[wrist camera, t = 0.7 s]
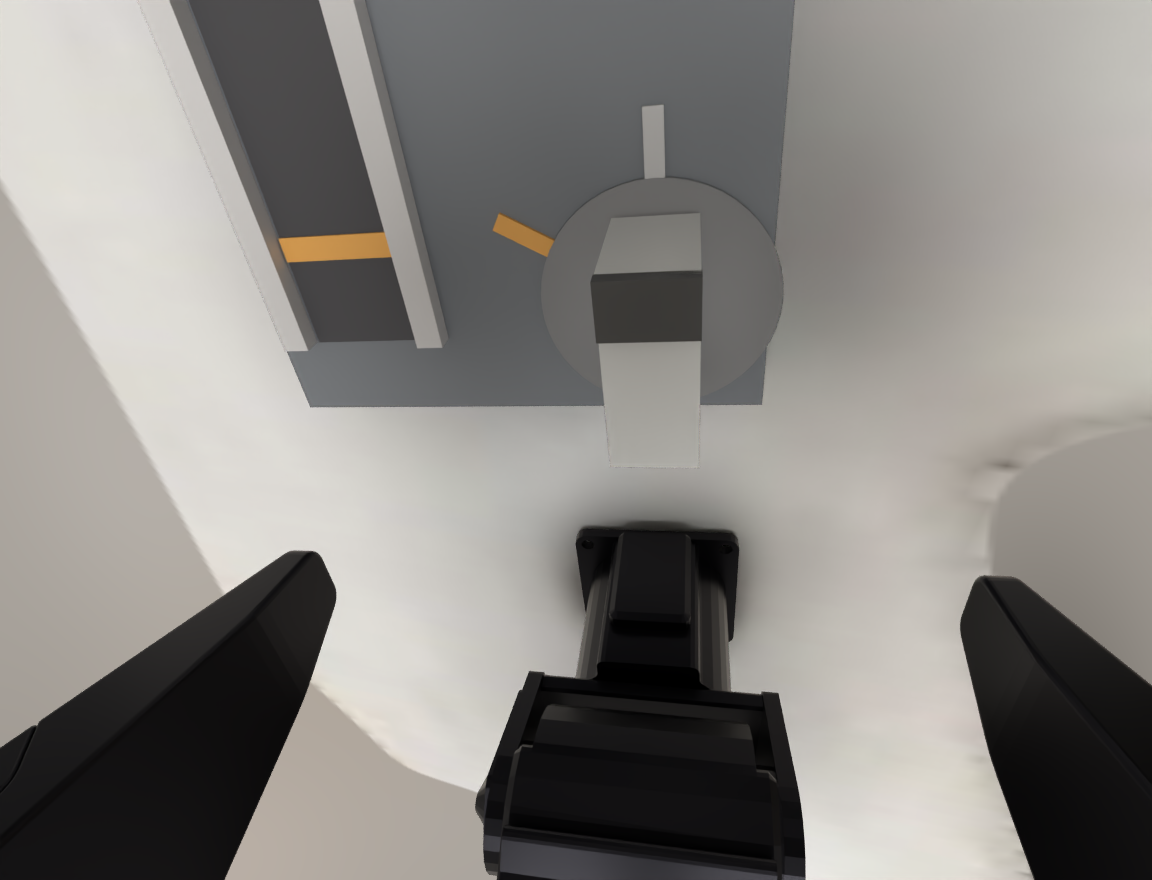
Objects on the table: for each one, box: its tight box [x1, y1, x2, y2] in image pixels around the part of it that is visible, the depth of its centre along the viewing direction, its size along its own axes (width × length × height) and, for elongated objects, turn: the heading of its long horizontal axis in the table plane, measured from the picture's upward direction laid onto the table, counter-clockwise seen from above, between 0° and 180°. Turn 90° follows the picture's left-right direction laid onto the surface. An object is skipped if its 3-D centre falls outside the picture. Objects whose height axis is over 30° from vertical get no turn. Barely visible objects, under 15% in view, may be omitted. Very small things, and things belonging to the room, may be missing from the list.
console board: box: [137, 0, 795, 407], centre depth 16 cm, size 17×15×3 cm
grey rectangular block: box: [590, 213, 703, 468], centre depth 16 cm, size 5×2×4 cm, turn 6°
